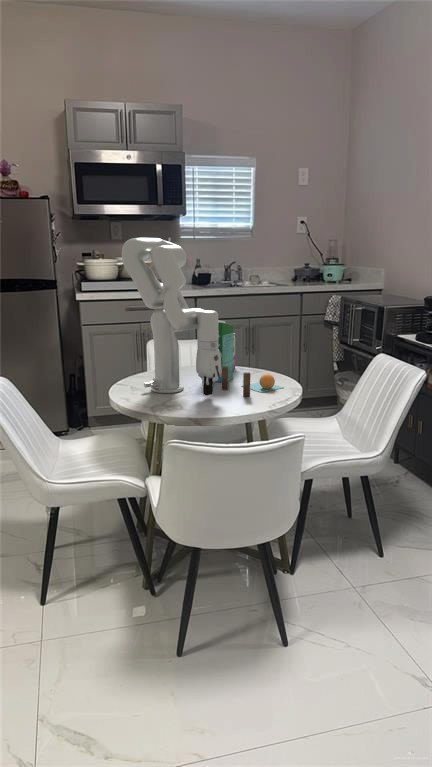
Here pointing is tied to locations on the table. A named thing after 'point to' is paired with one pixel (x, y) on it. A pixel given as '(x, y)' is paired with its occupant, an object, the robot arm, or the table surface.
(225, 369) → the left post
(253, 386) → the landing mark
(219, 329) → the milk carton
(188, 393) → the table surface
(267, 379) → the ball
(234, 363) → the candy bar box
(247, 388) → the right post
